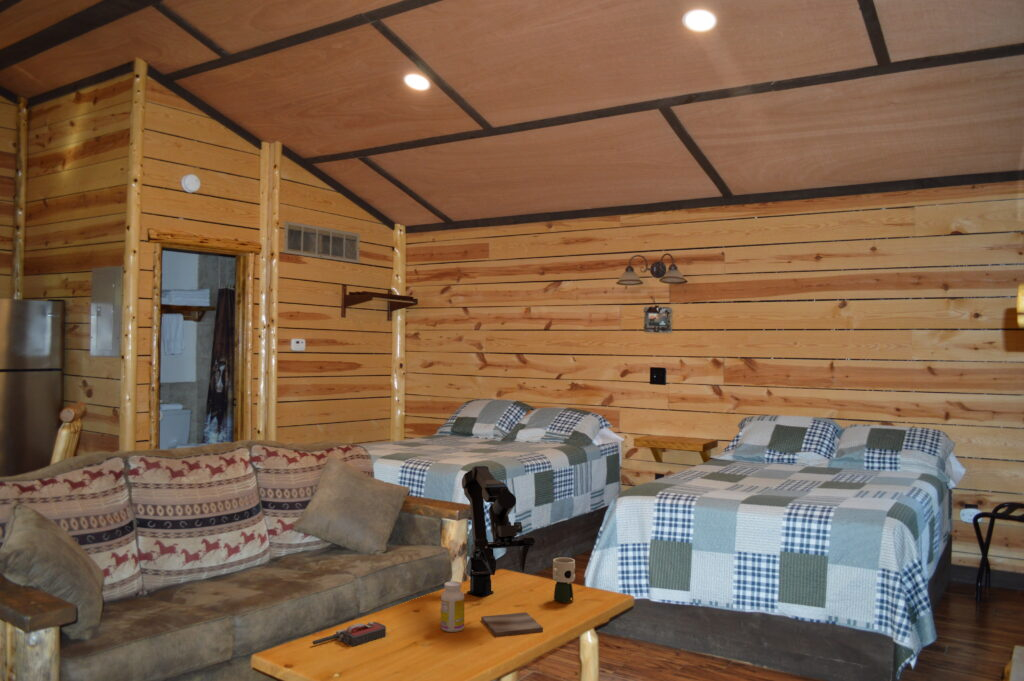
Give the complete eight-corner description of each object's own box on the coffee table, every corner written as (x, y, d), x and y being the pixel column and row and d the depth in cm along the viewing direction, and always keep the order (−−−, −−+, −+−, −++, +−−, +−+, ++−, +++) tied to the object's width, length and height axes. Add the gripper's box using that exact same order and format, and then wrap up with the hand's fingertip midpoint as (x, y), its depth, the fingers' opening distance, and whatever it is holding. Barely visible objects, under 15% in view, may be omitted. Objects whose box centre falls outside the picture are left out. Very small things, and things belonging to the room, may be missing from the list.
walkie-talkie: (371, 628, 227) (310, 647, 213) (372, 613, 227) (310, 630, 213) (390, 636, 221) (328, 656, 206) (391, 620, 221) (329, 638, 207)
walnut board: (481, 620, 234) (481, 616, 234) (526, 616, 238) (526, 612, 238) (495, 636, 221) (495, 632, 221) (542, 631, 225) (542, 627, 225)
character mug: (562, 607, 247) (562, 565, 247) (544, 602, 252) (544, 561, 252) (582, 599, 255) (583, 558, 256) (564, 595, 260) (565, 555, 260)
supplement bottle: (465, 625, 230) (466, 580, 230) (462, 633, 223) (462, 587, 223) (443, 624, 230) (443, 579, 231) (438, 632, 224) (439, 586, 224)
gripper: (475, 513, 231) (482, 565, 223) (536, 510, 237) (545, 561, 228) (467, 528, 240) (474, 579, 231) (526, 524, 245) (535, 574, 237)
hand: (507, 573), depth 232 cm, fingers open, 9 cm apart
